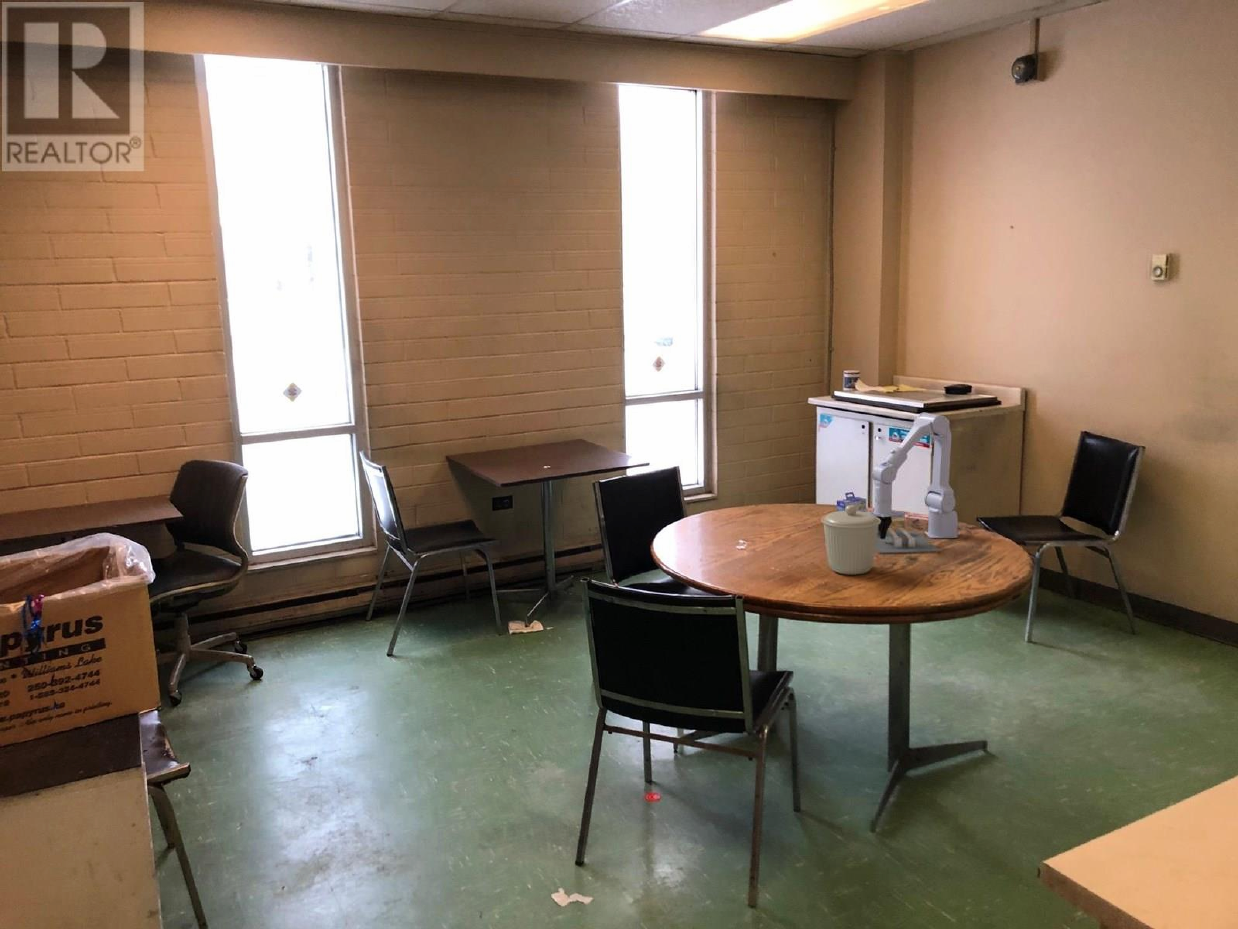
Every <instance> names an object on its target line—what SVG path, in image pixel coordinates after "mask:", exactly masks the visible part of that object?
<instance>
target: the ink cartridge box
mask: <svg viewBox="0 0 1238 929" xmlns="http://www.w3.org/2000/svg"><path fill="white" fill-rule="evenodd" d="M844 495H845V499H838V500H836V512H838V511H845V508H846V507H847V506H848V505H853V506H855V507H856V508H857V511H861V512H867V499H866V498H863V497H860V496H855V493H854V492H853V491H850V492H845V493H844ZM849 495H850V496H849ZM851 495H852V496H851Z"/></svg>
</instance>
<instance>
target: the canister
mask: <svg viewBox="0 0 1238 929" xmlns="http://www.w3.org/2000/svg"><path fill="white" fill-rule="evenodd" d="M866 512H867V511H866ZM866 512H861V511H857V508H856V507H855V506H853V505H848V506H847V507H846V508H845V511H838V512H837V511H834V512H830V513H827V515H825V516H823V517H822V518H821V523H823V528H824V530H823V531H824V537H825V538H824V540H825V547H826V548H825V549H826V555H827V564H828V565H829V568H830V569H831V570H832V571H833V572H836V573H838V574H841V575H842V574H843V575H850V576H851V575H861V574H865V573H868V572H869V571H870V570H871V569H872V568H873V565H874V560H875V554H876V550H875V548H876V541H877V533H878V532H879V530H878V525H879V524H880V523H881V520H880V519H879V518H877V517H876V516H875V515H873V514H870V513H866Z"/></svg>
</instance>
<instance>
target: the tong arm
mask: <svg viewBox="0 0 1238 929" xmlns="http://www.w3.org/2000/svg"><path fill="white" fill-rule="evenodd" d="M895 532H896V531H895V530H894V529H893V528H892V526H891V527H890V526H889V528H888V530H887V533H886V536H887V538H888V539H889V540H890V541H891V543H892V544H893V546H894V547H895V548H902V539H901V538H900V537H898V535H897V534H896V533H895Z"/></svg>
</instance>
